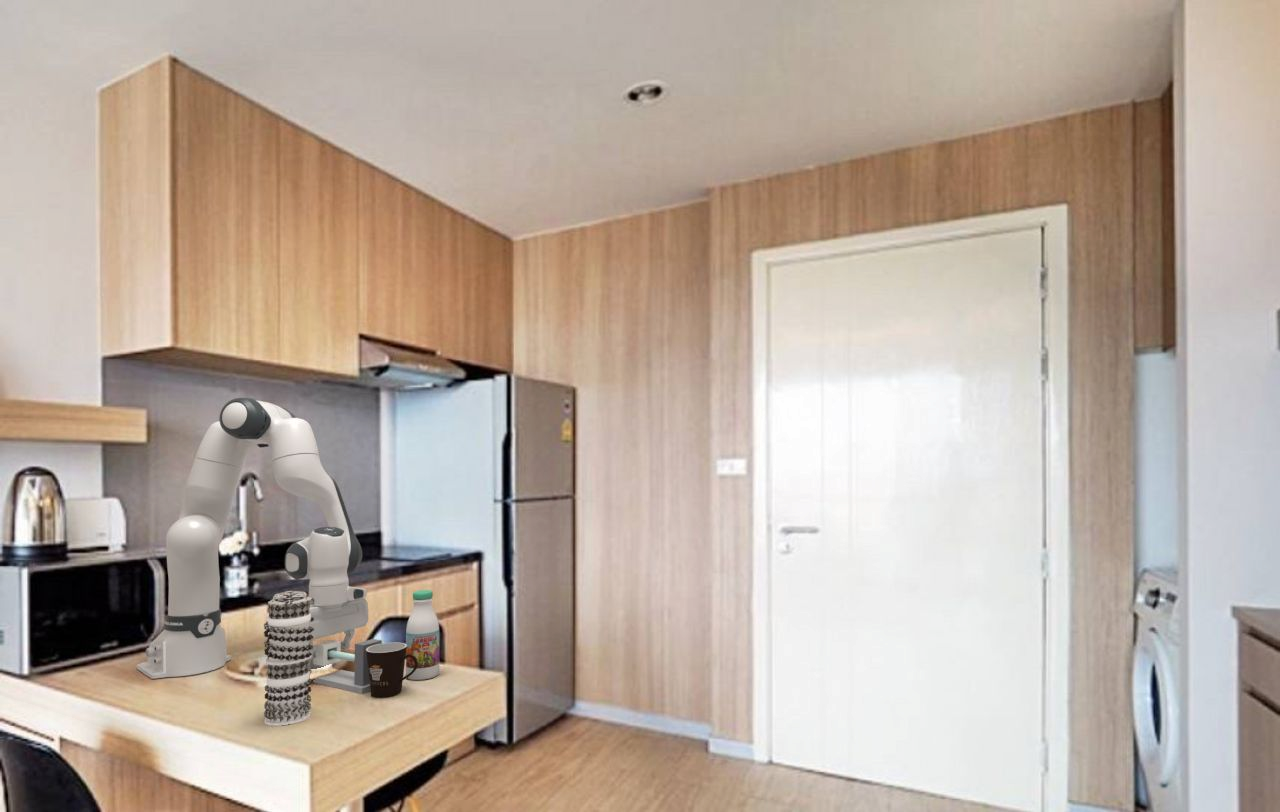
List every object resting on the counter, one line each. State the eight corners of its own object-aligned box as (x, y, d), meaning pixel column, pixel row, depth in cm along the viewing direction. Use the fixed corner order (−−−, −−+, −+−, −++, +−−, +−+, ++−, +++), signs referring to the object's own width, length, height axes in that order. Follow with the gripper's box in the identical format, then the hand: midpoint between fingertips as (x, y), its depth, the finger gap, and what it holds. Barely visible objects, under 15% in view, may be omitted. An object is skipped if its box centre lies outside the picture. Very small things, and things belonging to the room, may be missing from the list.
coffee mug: (358, 694, 156) (358, 648, 157) (394, 684, 162) (395, 640, 163) (383, 705, 148) (384, 657, 149) (420, 695, 154) (421, 648, 155)
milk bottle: (400, 676, 169) (400, 591, 170) (430, 669, 174) (430, 587, 175) (414, 683, 163) (414, 595, 164) (445, 675, 168) (445, 591, 170)
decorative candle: (265, 714, 145) (267, 590, 147) (314, 707, 148) (316, 587, 150) (258, 729, 136) (261, 598, 138) (310, 722, 139) (312, 594, 141)
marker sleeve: (312, 663, 167) (313, 644, 168) (330, 659, 171) (330, 639, 172) (323, 666, 165) (323, 646, 166) (340, 661, 169) (340, 641, 170)
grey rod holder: (301, 679, 167) (302, 636, 168) (327, 671, 173) (328, 629, 174) (362, 693, 156) (362, 647, 157) (387, 684, 162) (388, 639, 163)
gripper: (297, 604, 159) (296, 667, 158) (372, 589, 177) (372, 644, 176) (280, 602, 162) (279, 663, 161) (355, 587, 180) (355, 642, 179)
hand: (328, 653), depth 169 cm, fingers open, 8 cm apart
